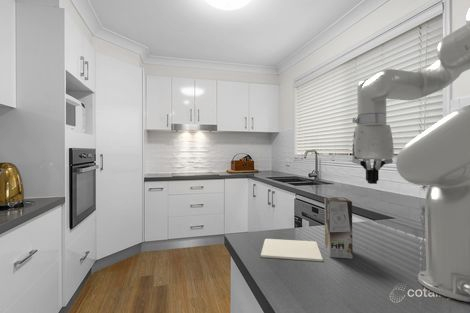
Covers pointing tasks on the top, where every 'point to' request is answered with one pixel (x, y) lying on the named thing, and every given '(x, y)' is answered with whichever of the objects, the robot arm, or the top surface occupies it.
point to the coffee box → (338, 227)
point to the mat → (291, 250)
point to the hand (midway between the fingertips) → (372, 183)
